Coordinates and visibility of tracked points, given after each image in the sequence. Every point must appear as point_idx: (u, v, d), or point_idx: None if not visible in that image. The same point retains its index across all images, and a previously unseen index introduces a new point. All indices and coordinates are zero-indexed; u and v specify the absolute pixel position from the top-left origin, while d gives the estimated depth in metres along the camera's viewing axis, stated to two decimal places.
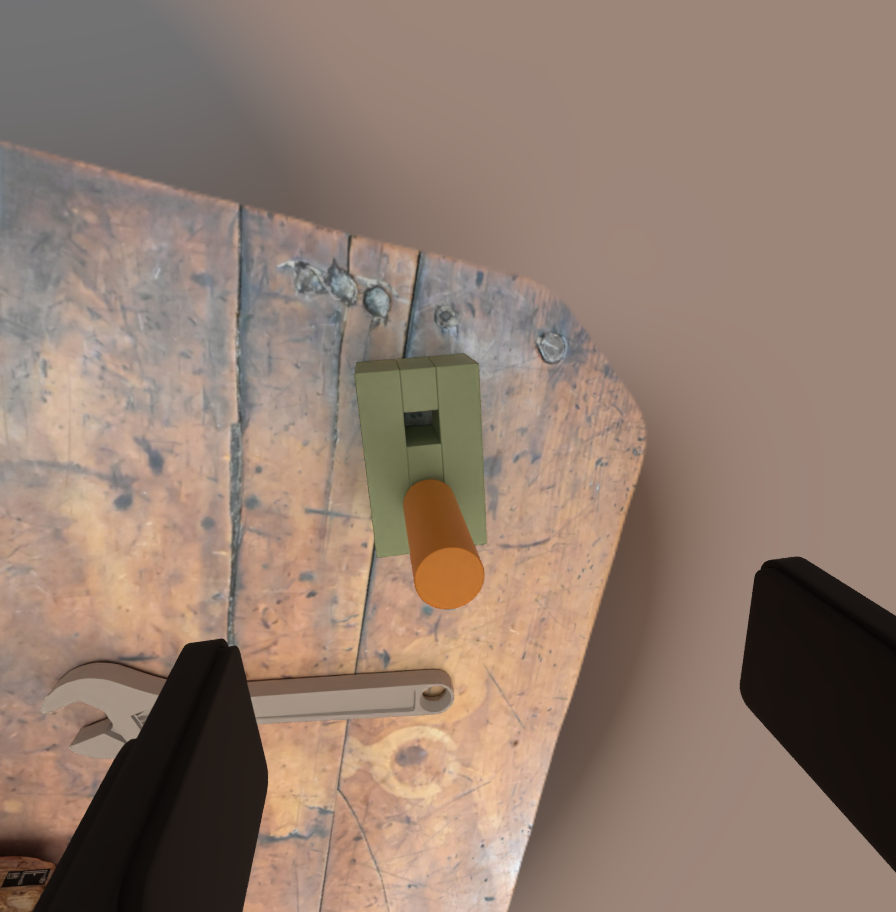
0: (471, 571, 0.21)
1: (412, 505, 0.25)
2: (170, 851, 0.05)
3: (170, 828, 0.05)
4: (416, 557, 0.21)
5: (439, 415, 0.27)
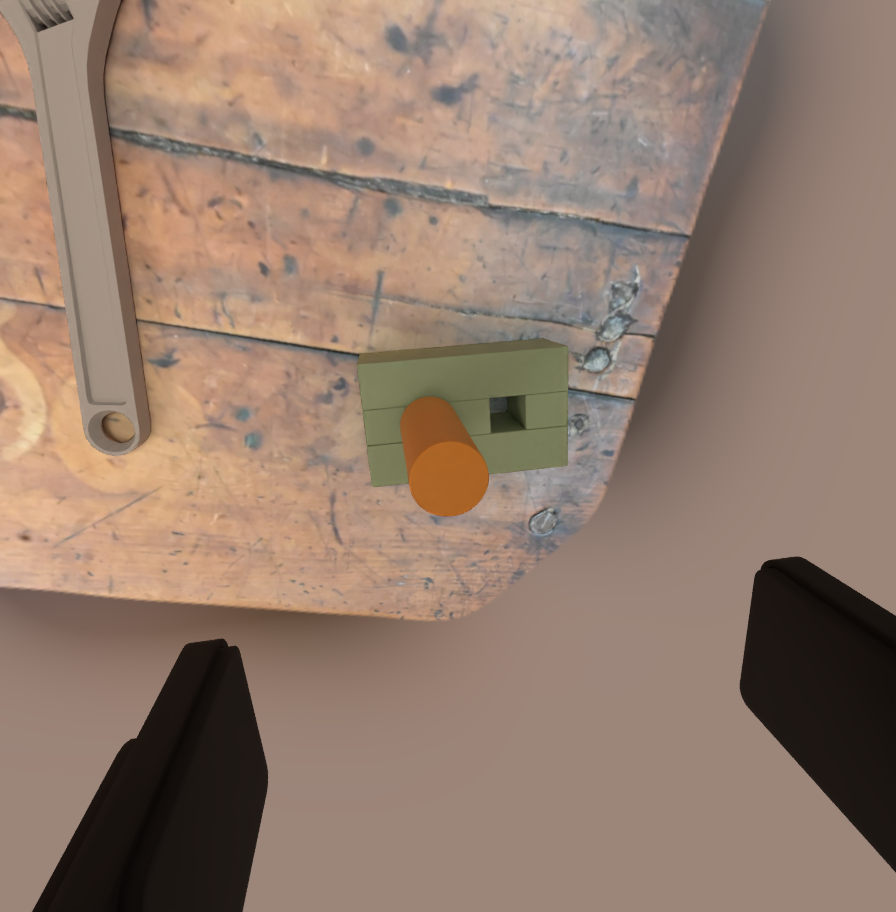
0: (457, 502, 0.18)
1: (453, 413, 0.23)
2: (170, 851, 0.05)
3: (170, 828, 0.05)
4: (464, 438, 0.18)
5: (519, 430, 0.26)
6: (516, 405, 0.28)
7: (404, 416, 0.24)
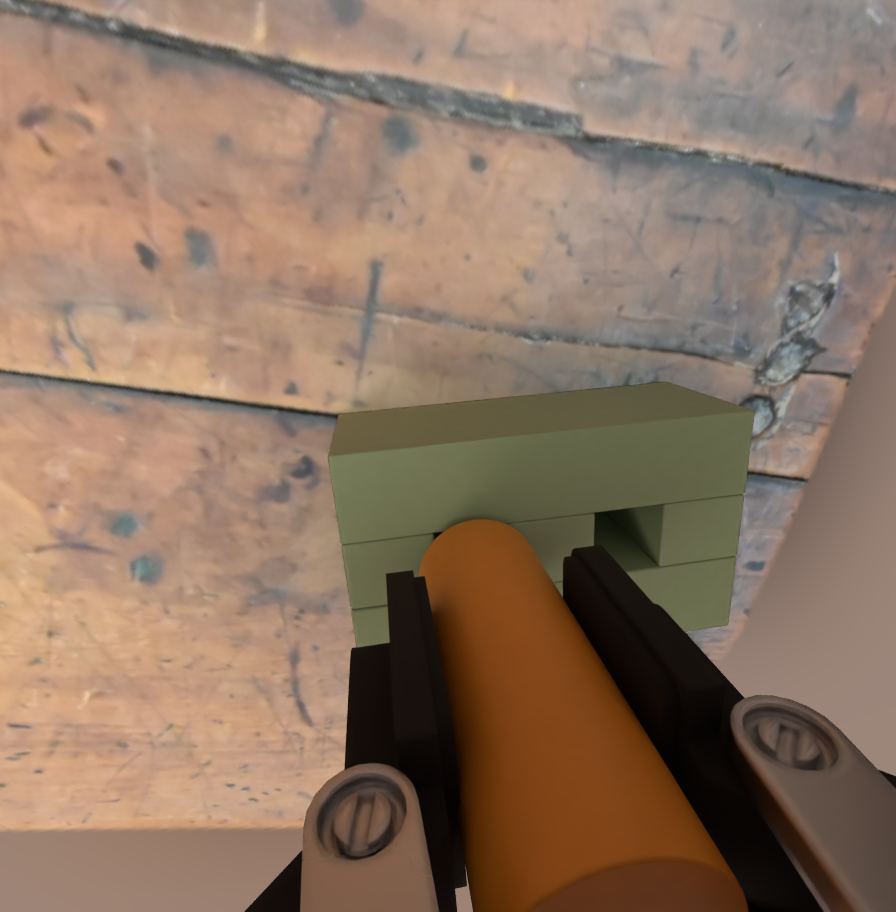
0: None
1: (546, 578, 0.10)
2: None
3: None
4: (657, 789, 0.06)
5: (645, 568, 0.14)
6: (628, 509, 0.15)
7: (430, 571, 0.11)
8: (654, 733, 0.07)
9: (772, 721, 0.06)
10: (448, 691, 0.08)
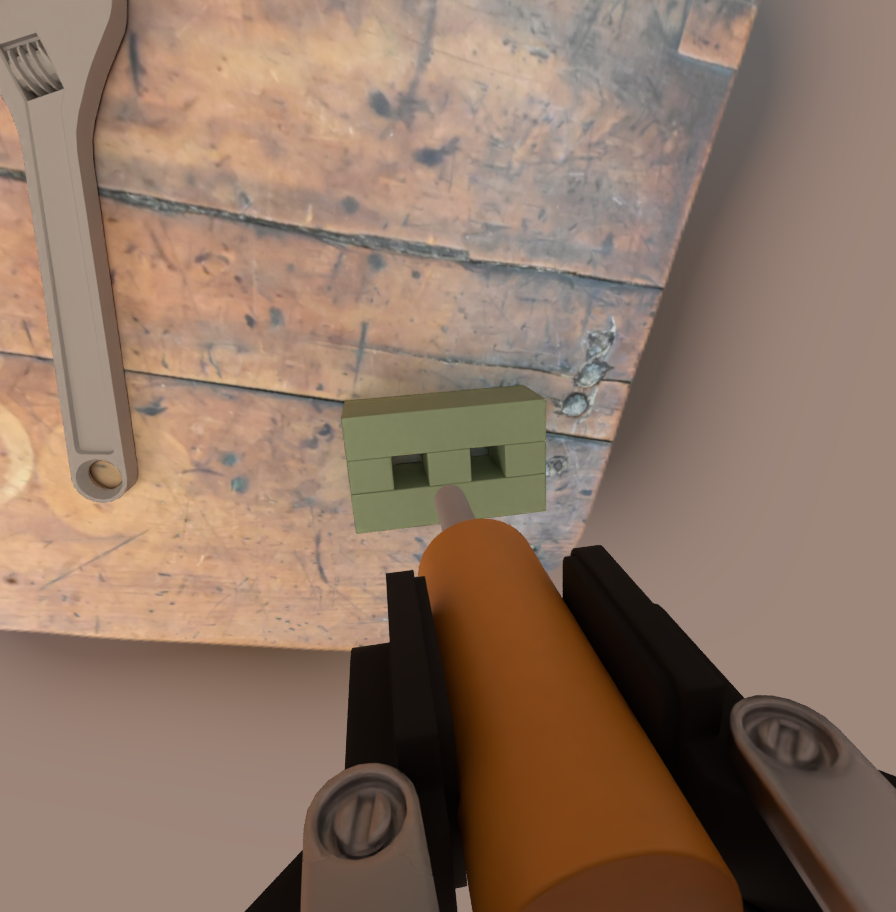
0: None
1: (545, 577, 0.10)
2: None
3: None
4: (653, 784, 0.06)
5: (499, 478, 0.27)
6: (496, 451, 0.29)
7: (429, 570, 0.11)
8: (654, 733, 0.07)
9: (771, 721, 0.06)
10: (447, 688, 0.08)
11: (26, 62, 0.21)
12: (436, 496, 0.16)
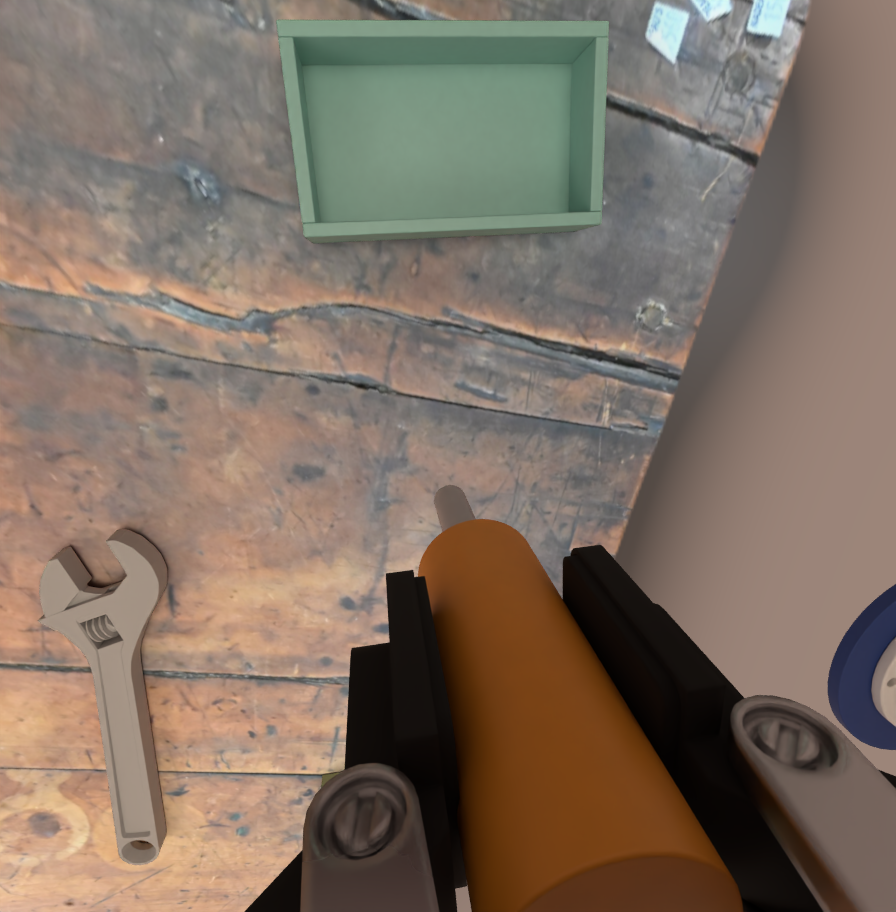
0: None
1: (544, 578, 0.10)
2: None
3: None
4: (653, 785, 0.06)
5: None
6: None
7: (429, 571, 0.11)
8: (654, 733, 0.07)
9: (771, 721, 0.06)
10: (447, 689, 0.08)
11: (98, 632, 0.30)
12: (436, 496, 0.16)
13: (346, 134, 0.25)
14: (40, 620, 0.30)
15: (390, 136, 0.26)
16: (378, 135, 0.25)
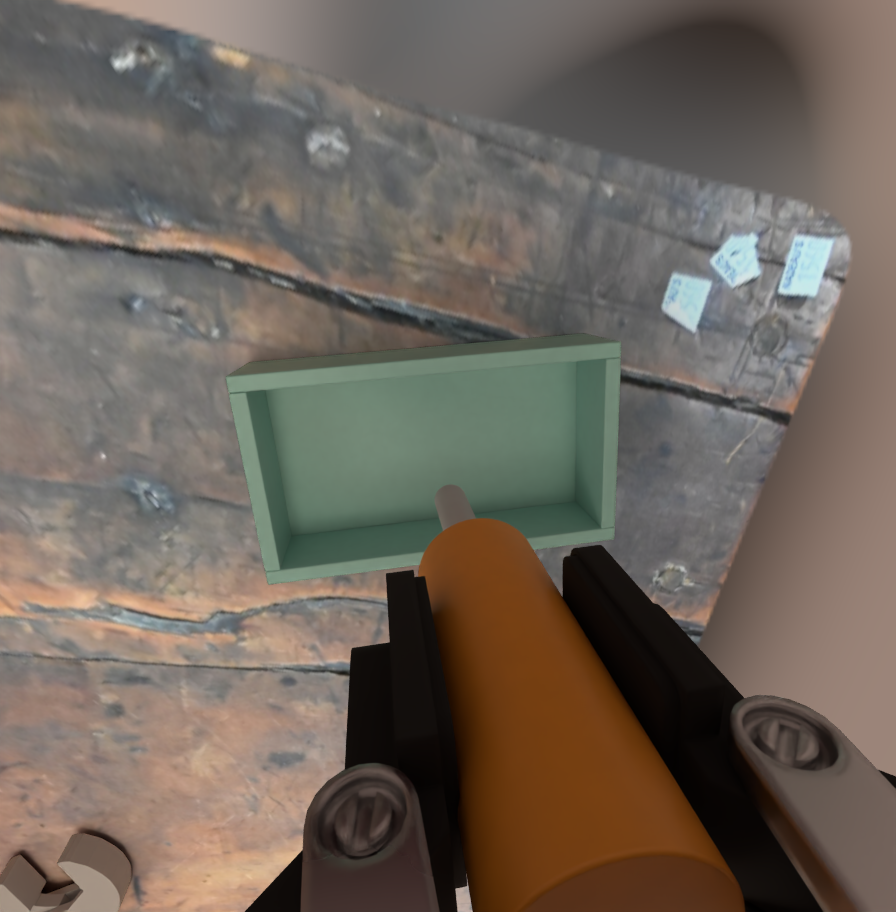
0: None
1: (545, 577, 0.10)
2: None
3: None
4: (655, 785, 0.06)
5: None
6: None
7: (430, 570, 0.11)
8: (654, 733, 0.07)
9: (771, 721, 0.06)
10: (447, 689, 0.08)
11: None
12: (436, 496, 0.16)
13: (317, 441, 0.22)
14: None
15: (368, 438, 0.22)
16: (354, 438, 0.22)
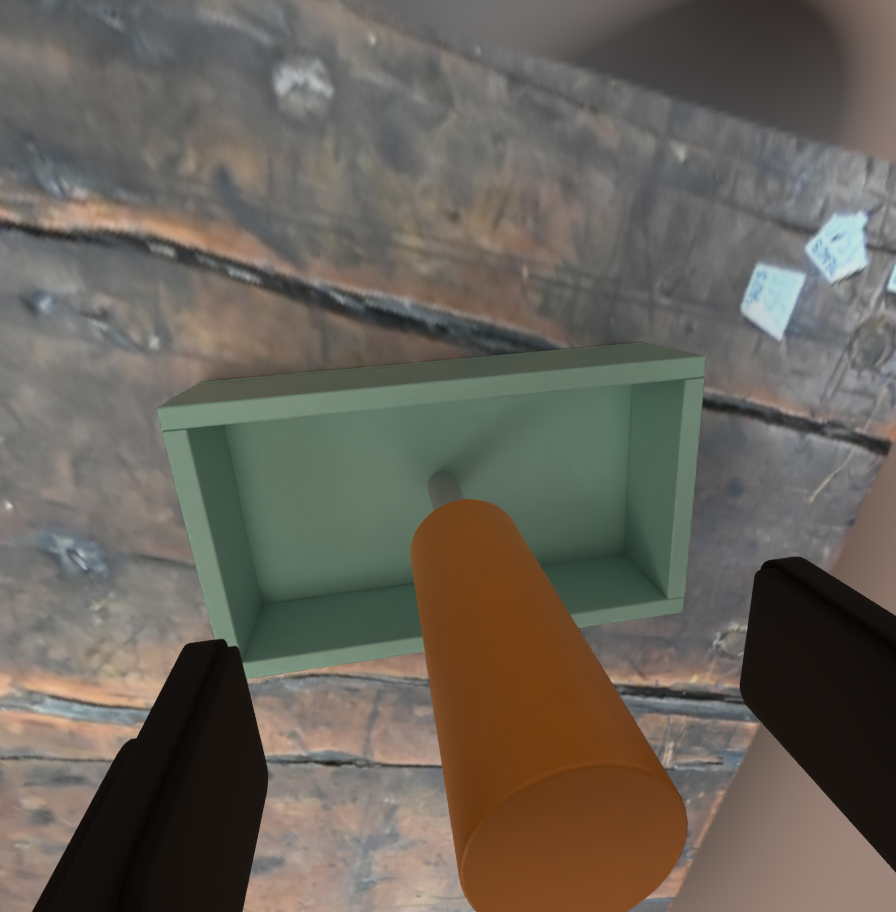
0: (593, 902, 0.06)
1: (527, 550, 0.11)
2: (170, 851, 0.05)
3: (170, 828, 0.05)
4: (611, 715, 0.07)
5: None
6: None
7: (420, 546, 0.12)
8: None
9: None
10: (434, 646, 0.09)
11: None
12: (429, 482, 0.17)
13: (293, 484, 0.17)
14: None
15: (361, 480, 0.17)
16: (343, 480, 0.17)
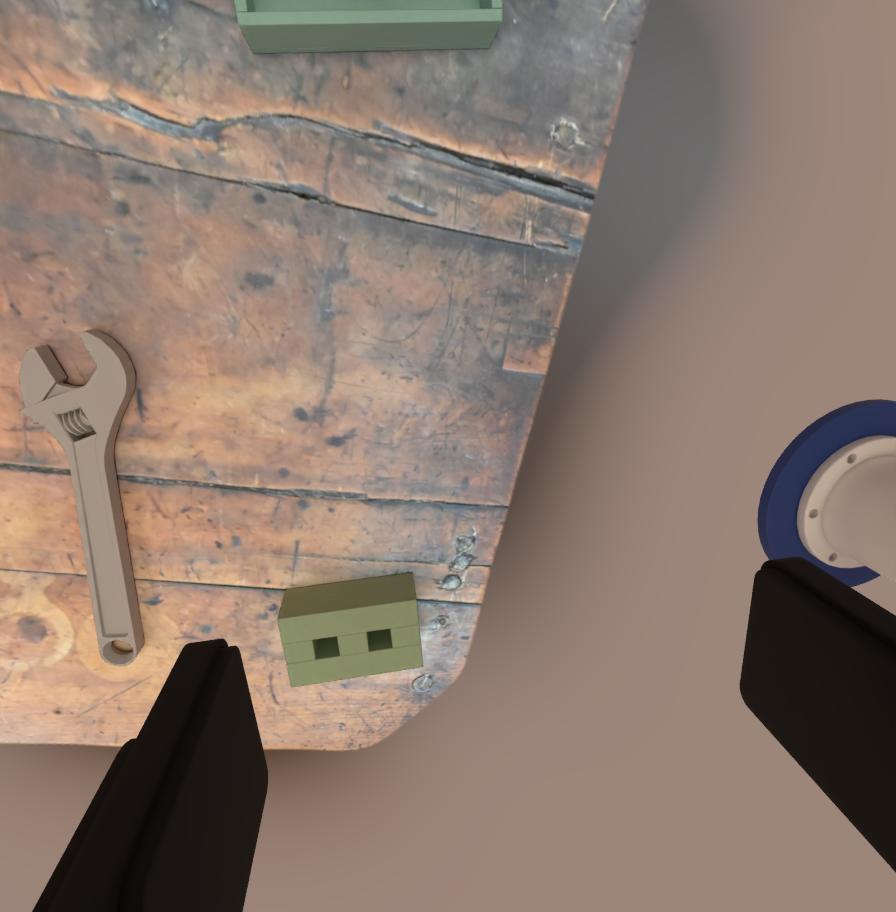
0: None
1: None
2: (170, 851, 0.05)
3: (170, 828, 0.05)
4: None
5: (388, 648, 0.40)
6: None
7: None
8: None
9: None
10: None
11: (73, 423, 0.34)
12: None
13: None
14: (21, 409, 0.33)
15: None
16: None
